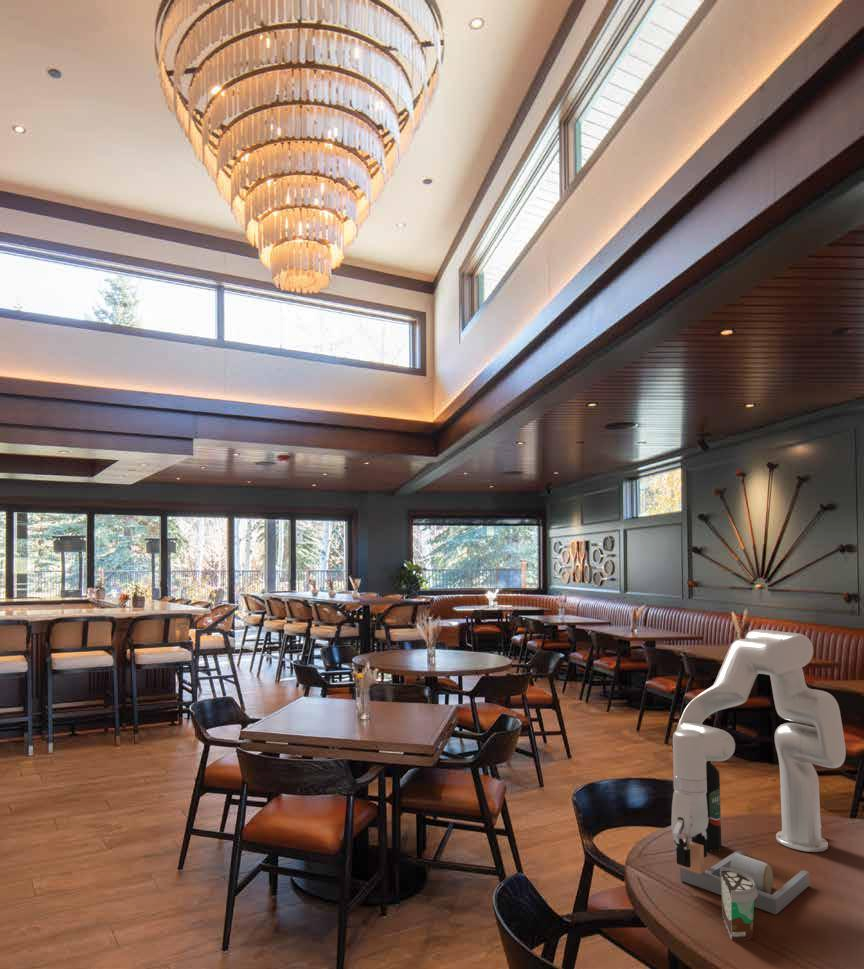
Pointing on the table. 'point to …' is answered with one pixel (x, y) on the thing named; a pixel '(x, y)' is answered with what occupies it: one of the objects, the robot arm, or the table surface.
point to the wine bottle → (713, 808)
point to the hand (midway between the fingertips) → (691, 860)
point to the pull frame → (712, 875)
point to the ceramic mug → (754, 871)
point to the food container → (737, 902)
